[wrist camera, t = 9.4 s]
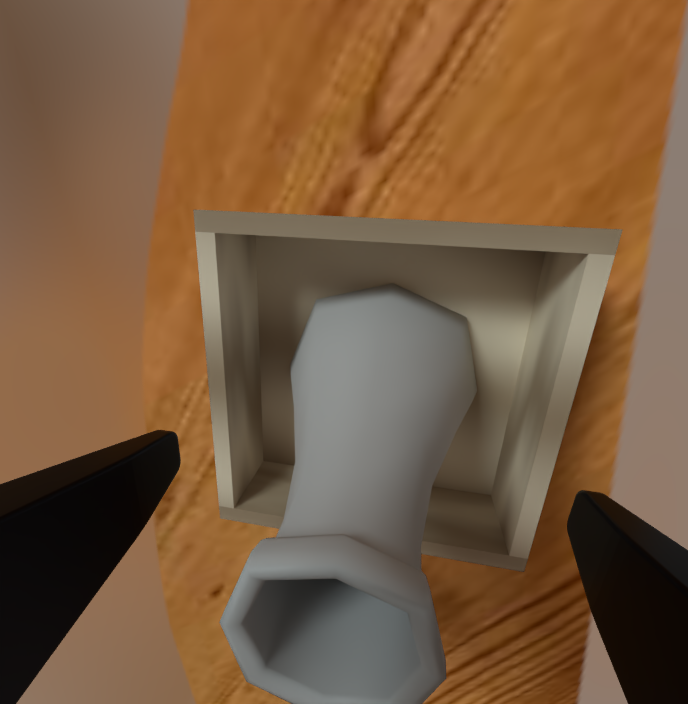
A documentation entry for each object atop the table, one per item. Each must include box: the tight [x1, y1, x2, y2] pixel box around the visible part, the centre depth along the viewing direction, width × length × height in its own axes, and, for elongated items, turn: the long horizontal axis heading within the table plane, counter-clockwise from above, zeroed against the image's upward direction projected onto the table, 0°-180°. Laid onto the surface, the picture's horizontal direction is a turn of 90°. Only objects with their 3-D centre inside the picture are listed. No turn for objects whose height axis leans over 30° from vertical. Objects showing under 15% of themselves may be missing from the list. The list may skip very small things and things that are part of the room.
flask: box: [220, 283, 477, 704], centre depth 10 cm, size 7×7×10 cm
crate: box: [194, 210, 622, 572], centre depth 13 cm, size 11×11×4 cm
